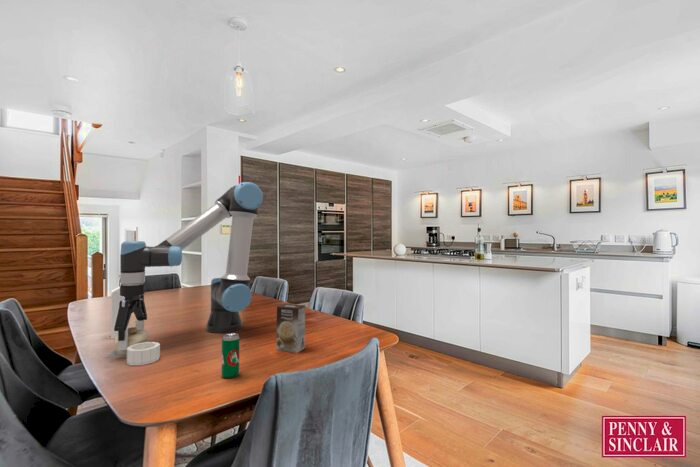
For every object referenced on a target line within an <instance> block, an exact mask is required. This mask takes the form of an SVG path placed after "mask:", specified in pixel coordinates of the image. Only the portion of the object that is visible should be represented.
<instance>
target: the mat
mask: <svg viewBox="0 0 700 467" xmlns="http://www.w3.org/2000/svg"><path fill="white" fill-rule="evenodd" d="M122 357H123V358H124V357H126V358H127V355H126V356H120V355H116V354H115V350H114V351H112V352H110V353H109V354H108V355H106V356H104V359H107V358H122Z"/></svg>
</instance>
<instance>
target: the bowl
mask: <svg viewBox="0 0 700 467" xmlns="http://www.w3.org/2000/svg"><path fill="white" fill-rule="evenodd" d="M160 356H161V344H160V343H159V342H156V341H148V342H144V343H138V344H135V345H131V346H129V347H128V348H127V357H126V363H127V365H129V366H145V365H149V364H153V363H155V362H157V361H159V360H160Z"/></svg>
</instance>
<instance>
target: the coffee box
mask: <svg viewBox="0 0 700 467" xmlns="http://www.w3.org/2000/svg"><path fill="white" fill-rule="evenodd" d="M275 340H276V347H275V350H276V351H281V352H289V353H295V354H297V353H299V352H301V351H303V350H304V349H305V348H306V305H305V304H304V305H303V304H296V303H295V304H294V303H283V304H280V305H278V306H276V339H275Z"/></svg>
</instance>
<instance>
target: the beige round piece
mask: <svg viewBox="0 0 700 467" xmlns="http://www.w3.org/2000/svg"><path fill="white" fill-rule="evenodd" d="M127 330H128V346H127V348H128V347H129V346H131V345H135V344H138V343H144V342H149V331H148V330H146V329H144V330H137V328H136V327H135V326H134V327H129V328H128V329H127ZM114 351H115V354H116V355H120V356H126V355H127V350H118V334H117V335H115V339H114Z"/></svg>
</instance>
